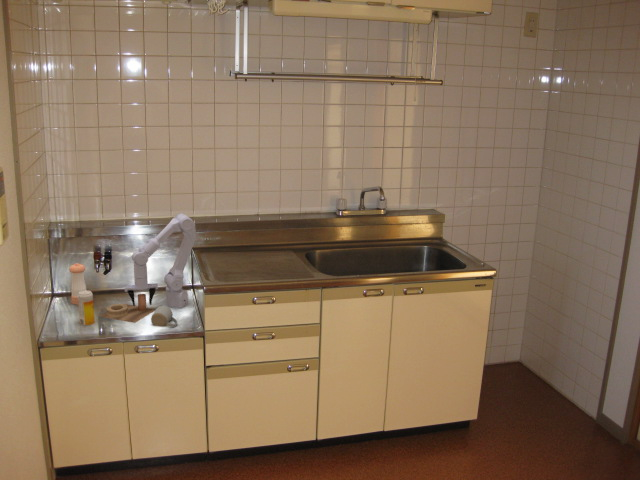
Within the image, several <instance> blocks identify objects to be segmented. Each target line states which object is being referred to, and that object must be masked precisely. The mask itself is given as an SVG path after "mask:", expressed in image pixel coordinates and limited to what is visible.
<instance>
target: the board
mask: <svg viewBox="0 0 640 480" xmlns="http://www.w3.org/2000/svg"><path fill="white" fill-rule="evenodd" d="M123 304H124V305H127V307H128V314H127V315H126V316H124V317H119V318H111V317H108V316H107V311H105V312H104V313H102V314H100V315H98V317H99V318H101V317H102V318H106V319H110V320H117V321H121V322H128V323H133V324H136V323H137V322H139V321H141V320H142V319H144V318H145V317H147V316H149V315H150V314H152V313H154V312H155V311H156V309H157V308H153V307H151V308H150V307H146V308H147V309H146V310H144V311H139V310H138V305H135V306H133V304H127V303H123Z"/></svg>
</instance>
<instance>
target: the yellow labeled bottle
mask: <svg viewBox="0 0 640 480" xmlns="http://www.w3.org/2000/svg"><path fill="white" fill-rule="evenodd" d="M77 306H78V314H79V315H78V316H79V324H80V325H81V326H90V325H94V324H95V323H96V321H95V319H96V318H95V308H94V307H95V306H94V294H93V292H92V291H91V290H87V289H86V290H85V291H80V292H79V294H78V305H77Z"/></svg>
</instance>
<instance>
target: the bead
mask: <svg viewBox="0 0 640 480" xmlns="http://www.w3.org/2000/svg"><path fill="white" fill-rule="evenodd" d="M124 304H125V303H114V304H111V305H109V306H106V310H105V312H107V316H108V317H111V318H119V317H124V316H126V315H127V314H128V307H127V305H124Z"/></svg>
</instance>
